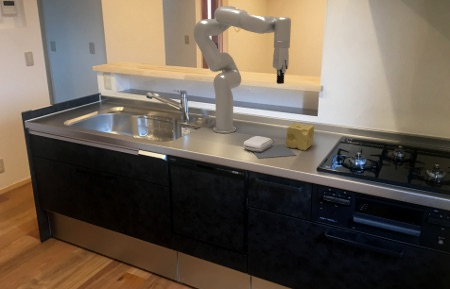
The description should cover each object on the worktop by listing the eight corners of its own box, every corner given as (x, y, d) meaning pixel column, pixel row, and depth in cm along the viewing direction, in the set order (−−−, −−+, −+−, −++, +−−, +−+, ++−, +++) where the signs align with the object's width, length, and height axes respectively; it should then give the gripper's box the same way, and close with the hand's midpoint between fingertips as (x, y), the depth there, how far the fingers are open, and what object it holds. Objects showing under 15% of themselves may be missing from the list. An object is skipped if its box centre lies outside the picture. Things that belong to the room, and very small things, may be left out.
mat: (249, 147, 195) (249, 146, 194) (284, 144, 198) (284, 143, 198) (258, 158, 180) (258, 158, 180) (296, 155, 183) (296, 155, 183)
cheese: (305, 151, 189) (307, 130, 185) (284, 146, 194) (285, 126, 191) (313, 145, 197) (315, 125, 194) (292, 141, 202) (294, 122, 199)
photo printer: (273, 138, 193) (260, 145, 183) (273, 146, 194) (259, 154, 185) (255, 134, 198) (241, 141, 189) (254, 142, 200) (241, 149, 190)
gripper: (269, 43, 195) (268, 81, 201) (279, 46, 181) (277, 86, 187) (284, 43, 196) (282, 80, 202) (295, 45, 183) (293, 86, 189)
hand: (280, 83), depth 195 cm, fingers closed
